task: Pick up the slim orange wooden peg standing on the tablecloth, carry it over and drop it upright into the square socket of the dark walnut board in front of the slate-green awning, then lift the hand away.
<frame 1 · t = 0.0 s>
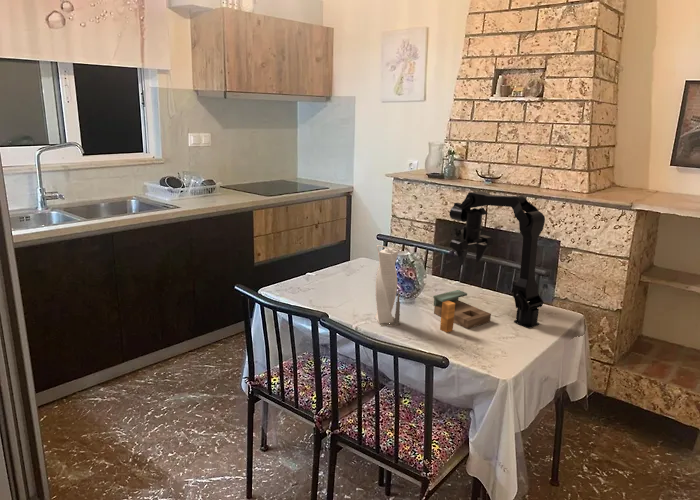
hand: (469, 263, 204), 15 cm above the table, tool pointing down, fingers open, 9 cm apart
skyscraper: (384, 322, 184), on the table
socket board: (461, 317, 189), on the table
peg: (446, 330, 178), on the table
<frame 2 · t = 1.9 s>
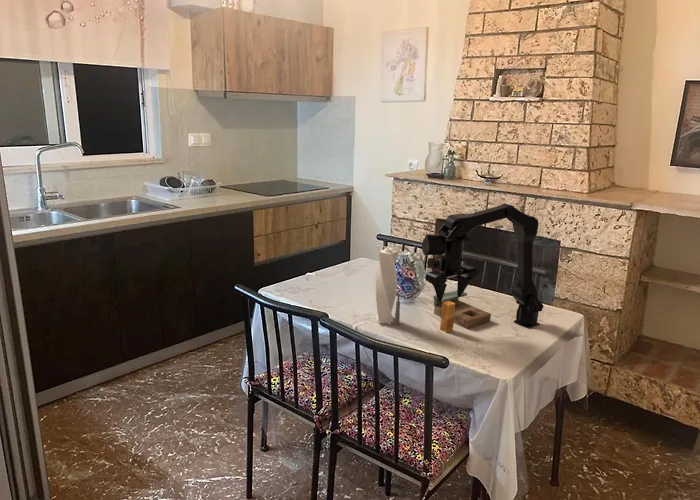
hand: (449, 298, 175), 11 cm above the table, tool pointing down, fingers open, 9 cm apart
nothing on the table moved.
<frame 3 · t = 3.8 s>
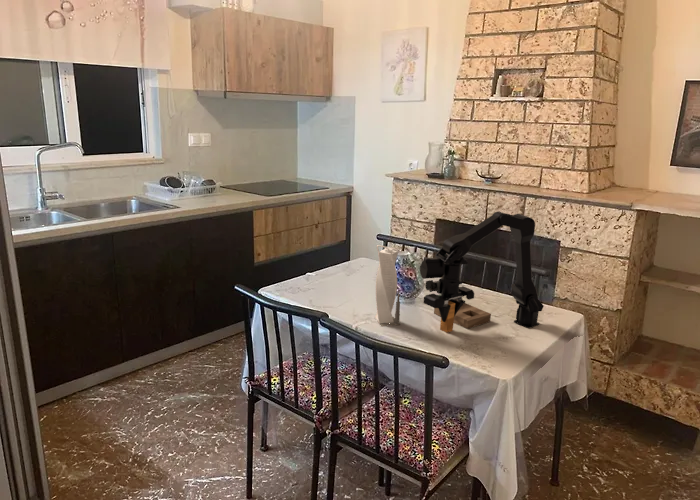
hand: (447, 320, 177), 4 cm above the table, tool pointing down, fingers closed on peg, 3 cm apart
peg: (446, 330, 178), on the table, touching gripper
everything else where it was.
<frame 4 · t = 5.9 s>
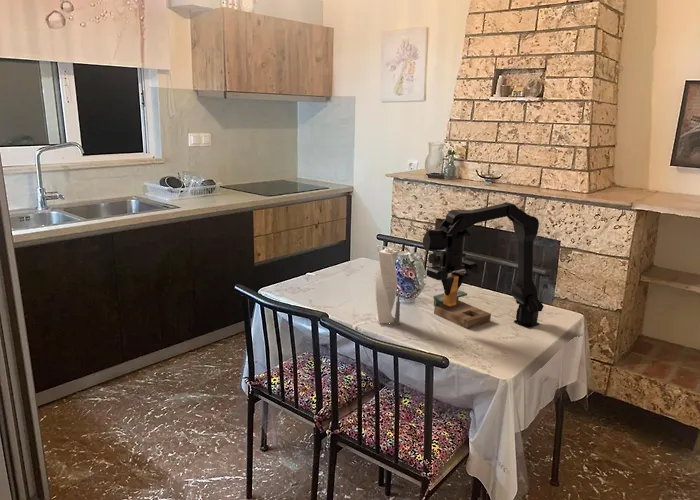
hand: (450, 294, 175), 13 cm above the table, tool pointing down, fingers closed on peg, 3 cm apart
peg: (449, 304, 175), point 9 cm above the table, touching gripper
everything else where it was.
when the fingers open (5 cm above the table, at t = 8.4 s): peg drops 2 cm, resting in socket board.
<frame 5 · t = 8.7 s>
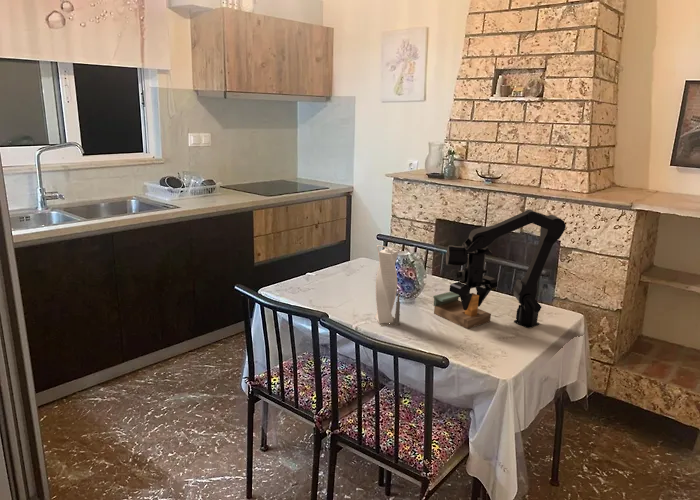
hand: (471, 308, 185), 5 cm above the table, tool pointing down, fingers open, 6 cm apart
peg: (470, 321, 186), resting in socket board
everything else where it was.
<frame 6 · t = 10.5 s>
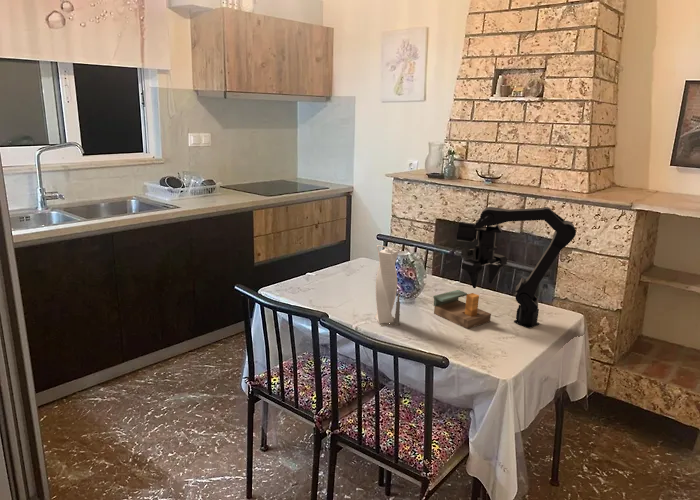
hand: (482, 285, 188), 12 cm above the table, tool pointing down, fingers open, 9 cm apart
nothing on the table moved.
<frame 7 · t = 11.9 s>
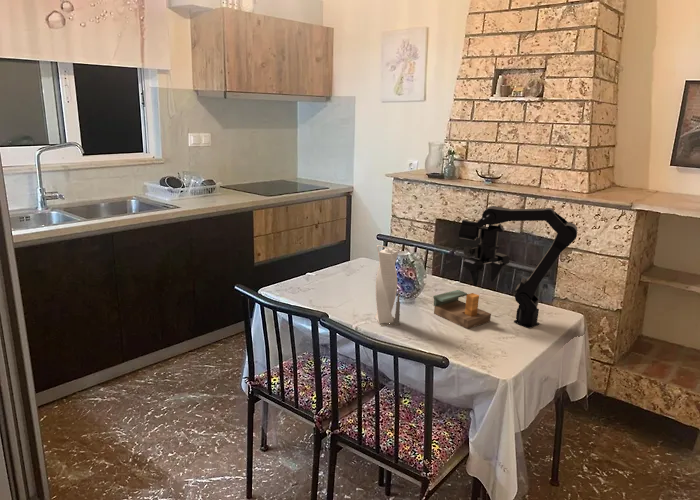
hand: (484, 284, 189), 12 cm above the table, tool pointing down, fingers open, 9 cm apart
nothing on the table moved.
at the end: peg 0.0 cm from the target spot on the socket board, point 0.0 cm above the socket board's base; peg tilted 0°; the gripper is holding nothing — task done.
